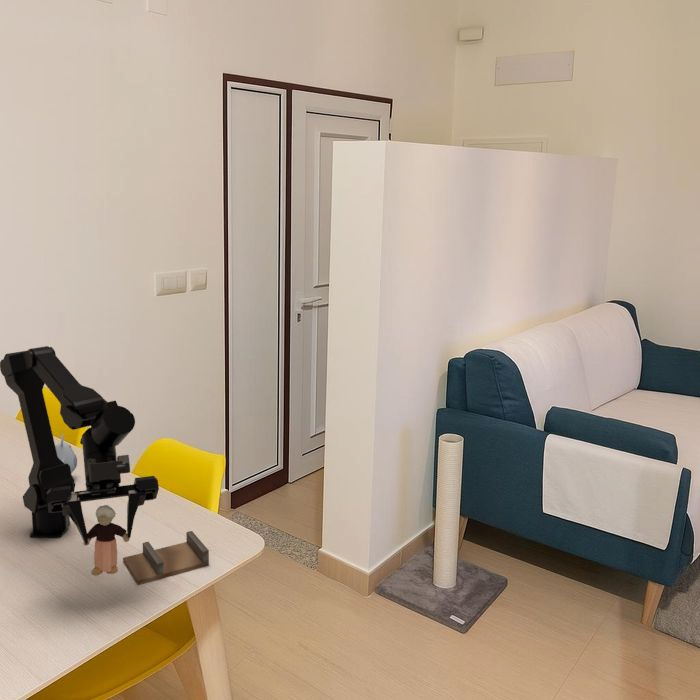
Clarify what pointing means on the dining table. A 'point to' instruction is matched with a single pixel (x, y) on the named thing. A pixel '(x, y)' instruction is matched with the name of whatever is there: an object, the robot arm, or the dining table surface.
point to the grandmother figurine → (105, 541)
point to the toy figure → (66, 454)
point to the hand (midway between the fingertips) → (108, 540)
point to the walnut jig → (167, 559)
